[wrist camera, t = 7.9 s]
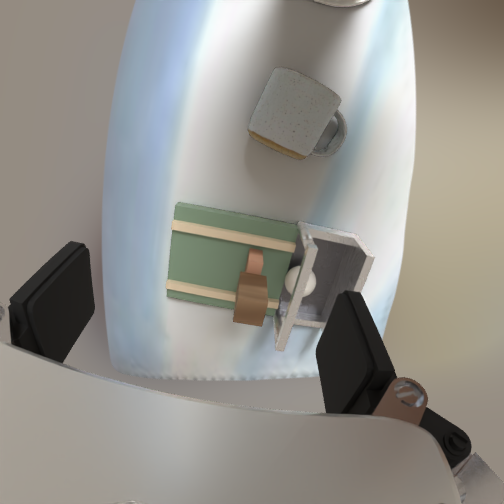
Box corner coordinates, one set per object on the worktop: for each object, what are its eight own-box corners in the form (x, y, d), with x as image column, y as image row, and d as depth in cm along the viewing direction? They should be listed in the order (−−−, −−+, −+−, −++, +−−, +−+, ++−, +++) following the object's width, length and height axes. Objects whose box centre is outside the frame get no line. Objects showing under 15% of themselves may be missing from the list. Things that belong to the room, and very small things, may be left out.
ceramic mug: (243, 132, 34) (242, 136, 27) (272, 71, 30) (279, 59, 24) (325, 170, 36) (343, 184, 29) (353, 111, 32) (379, 112, 25)
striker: (244, 246, 38) (241, 284, 29) (268, 251, 38) (271, 290, 30) (235, 288, 40) (230, 332, 32) (257, 292, 40) (258, 337, 32)
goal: (297, 220, 38) (308, 246, 31) (356, 233, 39) (378, 260, 31) (271, 313, 44) (274, 350, 36) (324, 321, 44) (335, 357, 37)
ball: (321, 278, 36) (318, 264, 40) (289, 271, 36) (289, 257, 40) (311, 306, 38) (309, 290, 42) (281, 299, 38) (281, 283, 42)
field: (178, 202, 37) (173, 207, 35) (297, 224, 38) (299, 231, 36) (169, 290, 42) (165, 299, 40) (273, 309, 44) (274, 319, 41)
